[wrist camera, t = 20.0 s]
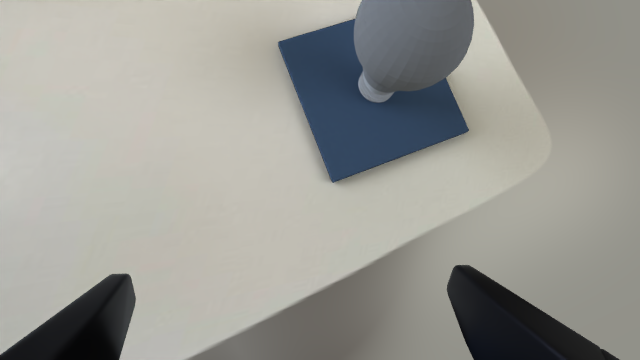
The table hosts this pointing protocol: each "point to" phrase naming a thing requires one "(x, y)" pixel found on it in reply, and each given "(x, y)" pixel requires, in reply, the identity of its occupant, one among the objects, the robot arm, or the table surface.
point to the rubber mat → (362, 105)
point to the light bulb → (409, 43)
